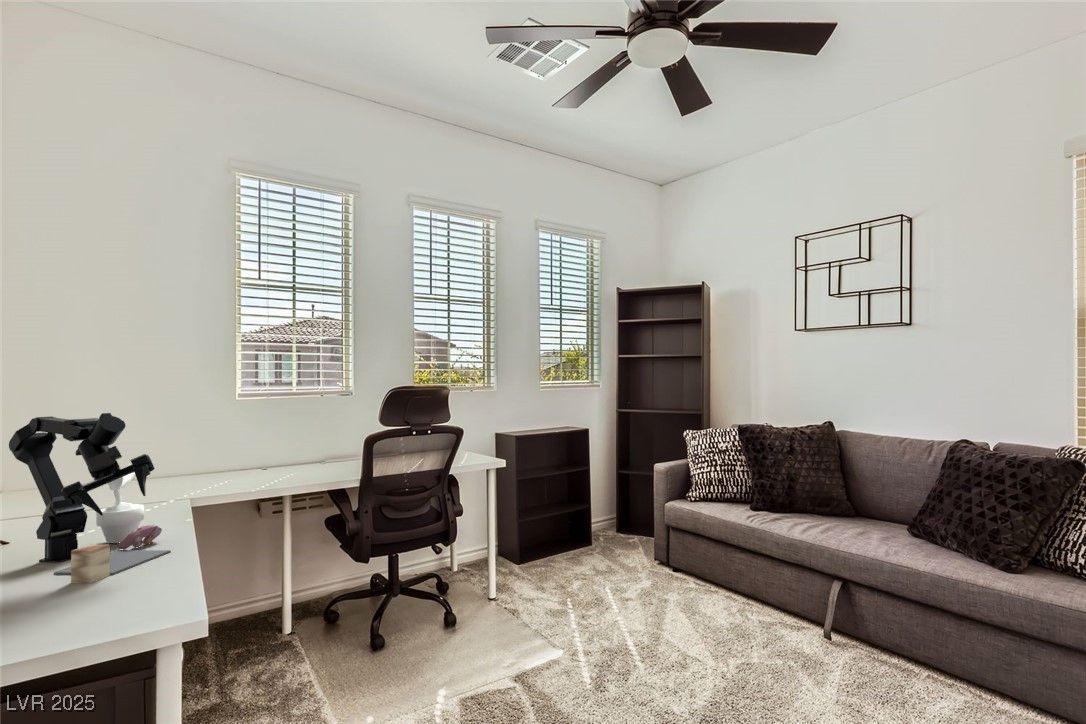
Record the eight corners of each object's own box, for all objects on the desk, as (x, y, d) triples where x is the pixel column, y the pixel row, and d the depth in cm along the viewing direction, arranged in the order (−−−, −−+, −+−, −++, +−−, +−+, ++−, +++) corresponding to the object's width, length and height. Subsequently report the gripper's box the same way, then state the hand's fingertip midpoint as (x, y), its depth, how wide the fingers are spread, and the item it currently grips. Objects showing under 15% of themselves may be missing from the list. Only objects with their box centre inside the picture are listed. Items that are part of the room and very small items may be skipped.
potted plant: (124, 546, 158) (125, 459, 159) (85, 547, 158) (85, 460, 159) (156, 534, 170) (156, 454, 172) (119, 535, 171) (120, 455, 172)
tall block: (71, 583, 128) (71, 550, 128) (90, 575, 133) (91, 544, 133) (90, 583, 128) (90, 550, 128) (109, 575, 133) (109, 544, 133)
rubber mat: (53, 574, 135) (53, 572, 135) (117, 552, 152) (117, 550, 152) (113, 574, 133) (113, 572, 133) (170, 552, 151) (170, 550, 151)
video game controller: (127, 556, 153) (136, 534, 153) (115, 549, 154) (124, 526, 154) (158, 546, 163) (167, 525, 163) (146, 539, 164) (155, 518, 163)
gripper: (43, 460, 131) (68, 512, 126) (133, 426, 142) (159, 472, 138) (58, 480, 139) (82, 529, 135) (142, 446, 151) (166, 490, 146)
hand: (123, 504), depth 138 cm, fingers open, 9 cm apart
